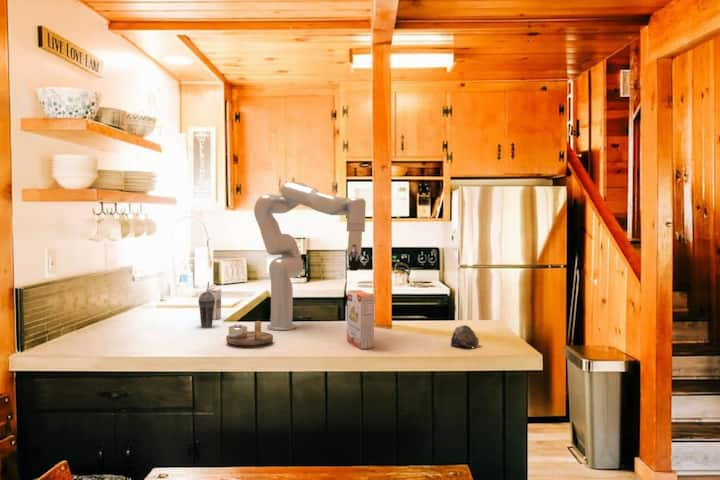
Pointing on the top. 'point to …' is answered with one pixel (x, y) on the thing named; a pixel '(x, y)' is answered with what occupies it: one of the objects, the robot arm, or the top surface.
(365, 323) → the cracker box
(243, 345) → the turntable base
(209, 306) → the beverage cup
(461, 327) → the dark rock
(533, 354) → the top surface
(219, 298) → the syrup box
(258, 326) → the turntable
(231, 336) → the cover
